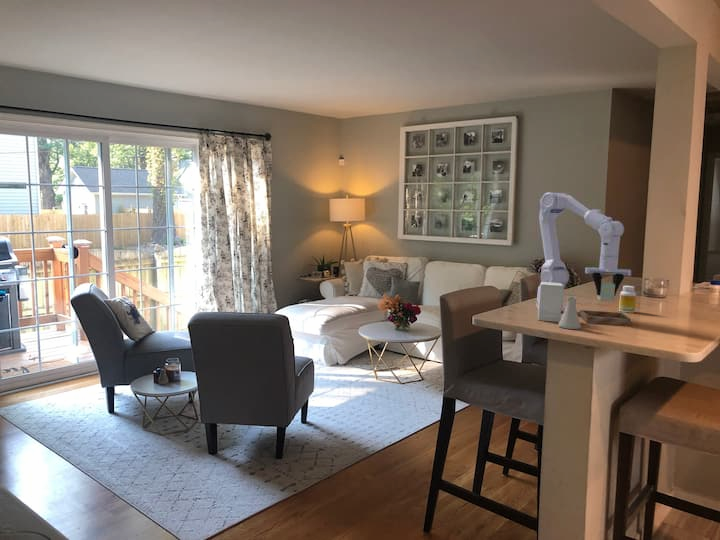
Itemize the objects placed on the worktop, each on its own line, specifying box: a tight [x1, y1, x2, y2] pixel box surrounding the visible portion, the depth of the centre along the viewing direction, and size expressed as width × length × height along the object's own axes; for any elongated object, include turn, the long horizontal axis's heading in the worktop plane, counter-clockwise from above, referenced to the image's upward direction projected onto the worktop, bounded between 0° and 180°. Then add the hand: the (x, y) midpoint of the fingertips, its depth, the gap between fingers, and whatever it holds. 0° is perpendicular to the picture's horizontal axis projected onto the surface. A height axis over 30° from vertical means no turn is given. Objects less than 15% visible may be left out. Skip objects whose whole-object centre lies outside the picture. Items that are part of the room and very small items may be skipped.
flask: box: [558, 295, 582, 330], centre depth 185 cm, size 7×7×10 cm
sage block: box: [596, 281, 615, 302], centre depth 197 cm, size 4×4×6 cm
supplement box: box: [537, 281, 563, 323], centre depth 196 cm, size 7×7×13 cm
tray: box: [579, 309, 632, 327], centre depth 197 cm, size 14×12×2 cm
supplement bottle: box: [618, 285, 637, 313], centre depth 216 cm, size 5×5×10 cm
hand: (605, 295), depth 197 cm, fingers closed on sage block, 4 cm apart
